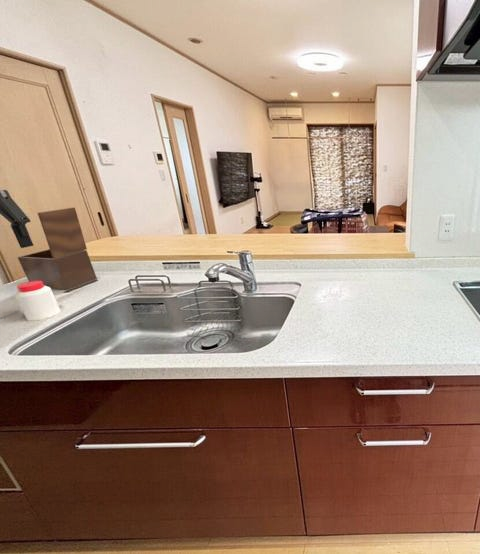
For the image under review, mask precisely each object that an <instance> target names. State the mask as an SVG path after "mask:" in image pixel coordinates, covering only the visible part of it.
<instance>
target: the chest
mask: <svg viewBox="0 0 480 554" xmlns="http://www.w3.org/2000/svg"><path fill="white" fill-rule="evenodd" d="M17 260H18V262H19V264H20V266H21V268H22V271H23V272H24V275H25V278H26V279H27V282H31V281H42V282H43V284H44V285H45V286H48V287H50V288H51V290H60V291H61V290H62V291H64V293H71V292H73V291H77V290H78V289H80V288H83V287H85V286H89V285H90V284H93V283H96V282H98V281H99V280H98V279H97V278H98V277H97V275H96V271H95V268H94V266H93V263H92V262H91V259H90V256H89V253H88V250H87V249H86V250H82V251H79V252H75V253H71V254H68V255H64V256H61V257H57V258H53V257H52V254H51V251H50V248H48V249H45V250H40V251H36V252H32V253H29V254H25V255H21V256H18V257H17Z"/></svg>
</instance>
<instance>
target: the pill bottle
mask: <svg viewBox="0 0 480 554" xmlns="http://www.w3.org/2000/svg"><path fill="white" fill-rule="evenodd" d="M16 288H17V290H18V291H17V292H16V293H14V294H15V295H14V297H15V299H16V300H17V301H16V302H17V303H18V305H19V307H20V308H21V311H22V313H23V315H24V317H25V319H26V320H27V321H29V322H35V321H36V322H37V321H42V320H47V319H50V318H51V317H52V318H53V317H55V316H56V315H58V314H60V313H61V308H60V306H59V303H58V301H57V299H56V296H55V294H54V292H53V289H51V288H50V287H48V286H45V285H44V284H43V282H42V281H31V282H29V281H27V282H23V283H22V282H21V283H20V284H18V285H17V286H16Z"/></svg>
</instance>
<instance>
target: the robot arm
mask: <svg viewBox="0 0 480 554" xmlns="http://www.w3.org/2000/svg"><path fill="white" fill-rule="evenodd" d="M0 215H1V216H2V217H3V218H4V219H6V220H7V221H8V222H9V223H10V228H11V230H12V232H13V234H14V236H15V239H16V240H17V243H18V245H19V247H20V249H25V248H30V247H34V243H33V241H32V238H31V236H30V233H29V231H28V229H27V226H26V224H28V223H31V219H30V218H29V217H28V215H27V214H26V213H25V212H24V211H23V209H22V208H21V207H20V206H19V205H18V204H17V202H15V200H14V199H13V198H12V196H11V195H10V193H9V191H8V190H7V189H1V190H0Z"/></svg>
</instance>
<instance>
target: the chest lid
mask: <svg viewBox="0 0 480 554" xmlns="http://www.w3.org/2000/svg"><path fill="white" fill-rule="evenodd" d="M37 216H38V218H39V221H40V225H41V227H42V231H43V233H44V236H45V240H46V242H47V245H48V249H50V251H51V254H52V257H53V258H57V257H61V256H64V255H68V254H71V253H75V252H79V251H82V250H87V249H88V248H87V244H86V241H85V238H84V234H83V231H82V227H81V224H80V221H79V216H78V213H77V209H76V207H67V208H60V209H59V208H58V209H53V210H47V211H41V212H40V211H39V212H37Z"/></svg>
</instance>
